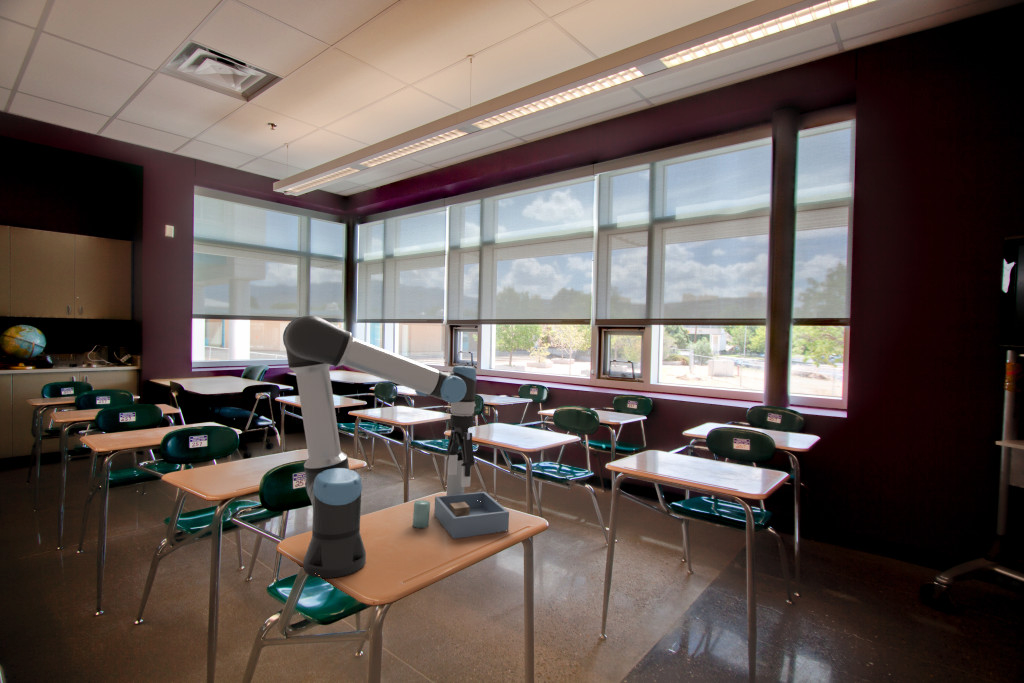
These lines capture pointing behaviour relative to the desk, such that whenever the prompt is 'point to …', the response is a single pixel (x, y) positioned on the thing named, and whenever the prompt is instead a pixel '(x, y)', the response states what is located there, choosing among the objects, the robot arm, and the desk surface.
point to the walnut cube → (460, 509)
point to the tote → (472, 515)
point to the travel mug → (455, 477)
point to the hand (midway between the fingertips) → (458, 480)
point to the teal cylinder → (421, 513)
